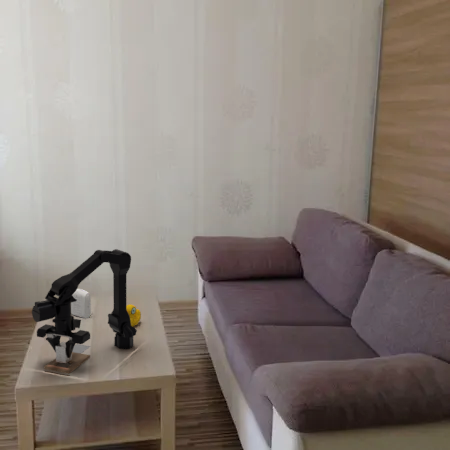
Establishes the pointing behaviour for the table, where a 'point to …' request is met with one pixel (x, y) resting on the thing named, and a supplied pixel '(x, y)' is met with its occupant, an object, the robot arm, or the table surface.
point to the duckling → (133, 314)
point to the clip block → (62, 353)
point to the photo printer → (81, 304)
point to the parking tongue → (80, 348)
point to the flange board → (75, 362)
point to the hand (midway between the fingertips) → (63, 356)
